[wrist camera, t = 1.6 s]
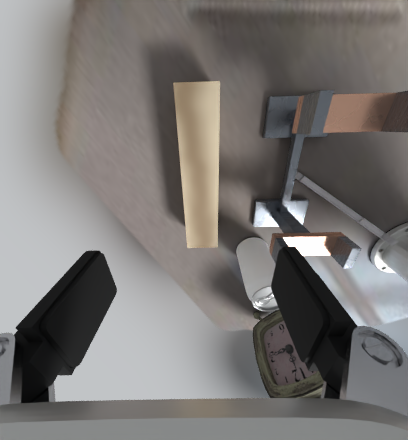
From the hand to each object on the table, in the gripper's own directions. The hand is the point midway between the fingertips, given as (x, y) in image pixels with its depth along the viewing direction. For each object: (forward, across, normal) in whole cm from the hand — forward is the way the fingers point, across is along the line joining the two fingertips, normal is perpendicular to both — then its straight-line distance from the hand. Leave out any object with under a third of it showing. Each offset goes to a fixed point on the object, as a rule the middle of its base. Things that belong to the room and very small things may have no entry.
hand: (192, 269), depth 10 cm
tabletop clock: (+22, -19, +35) cm, 46 cm away
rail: (+22, 0, 0) cm, 22 cm away
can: (+22, -10, +16) cm, 29 cm away
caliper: (+22, -24, +6) cm, 34 cm away
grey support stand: (+22, -14, 0) cm, 26 cm away
